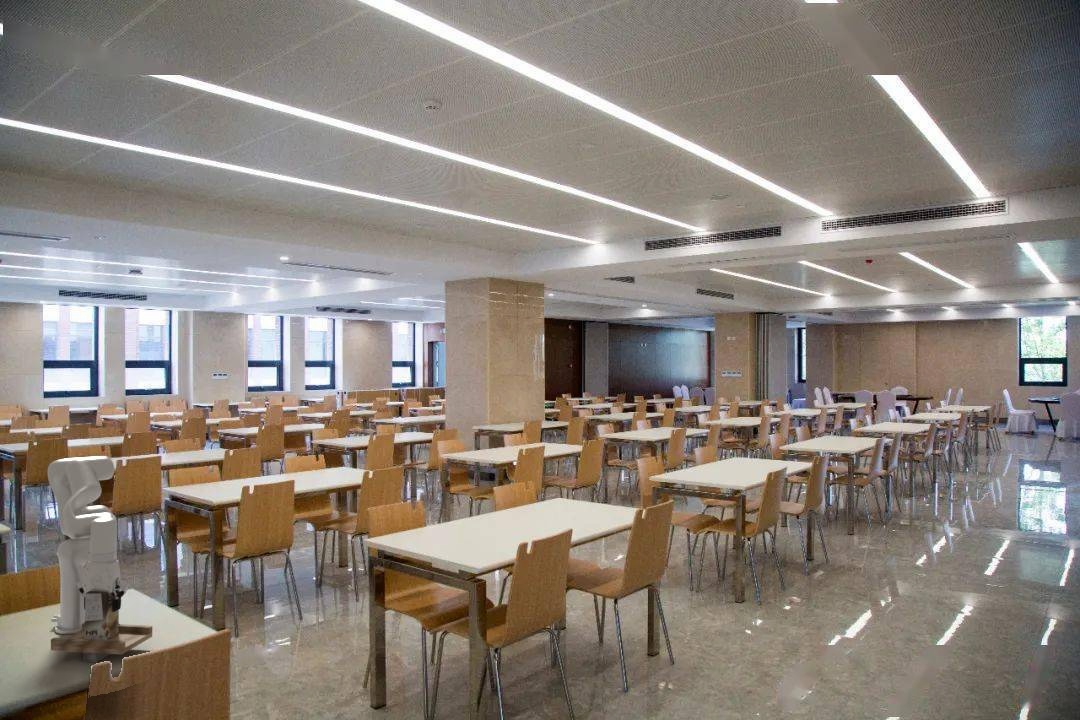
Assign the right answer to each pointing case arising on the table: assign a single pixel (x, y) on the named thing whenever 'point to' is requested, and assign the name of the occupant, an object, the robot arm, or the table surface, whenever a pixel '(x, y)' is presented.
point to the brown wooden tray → (103, 642)
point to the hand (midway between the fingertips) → (102, 609)
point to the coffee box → (100, 616)
